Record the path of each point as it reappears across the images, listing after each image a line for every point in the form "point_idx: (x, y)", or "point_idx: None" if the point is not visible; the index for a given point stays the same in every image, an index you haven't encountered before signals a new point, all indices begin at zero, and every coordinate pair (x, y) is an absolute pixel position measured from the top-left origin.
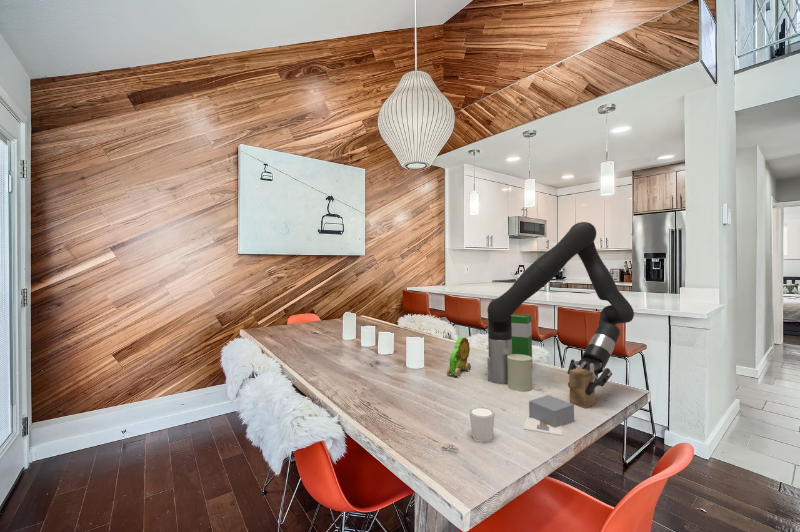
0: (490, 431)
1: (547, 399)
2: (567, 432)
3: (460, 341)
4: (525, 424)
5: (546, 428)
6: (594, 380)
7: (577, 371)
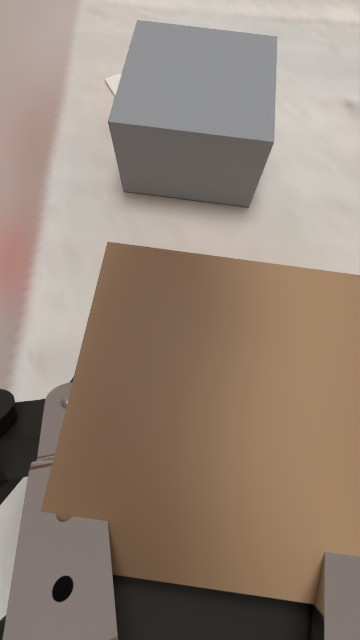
0: None
1: (235, 94)
2: (102, 107)
3: None
4: None
5: None
6: (45, 403)
7: (262, 321)
